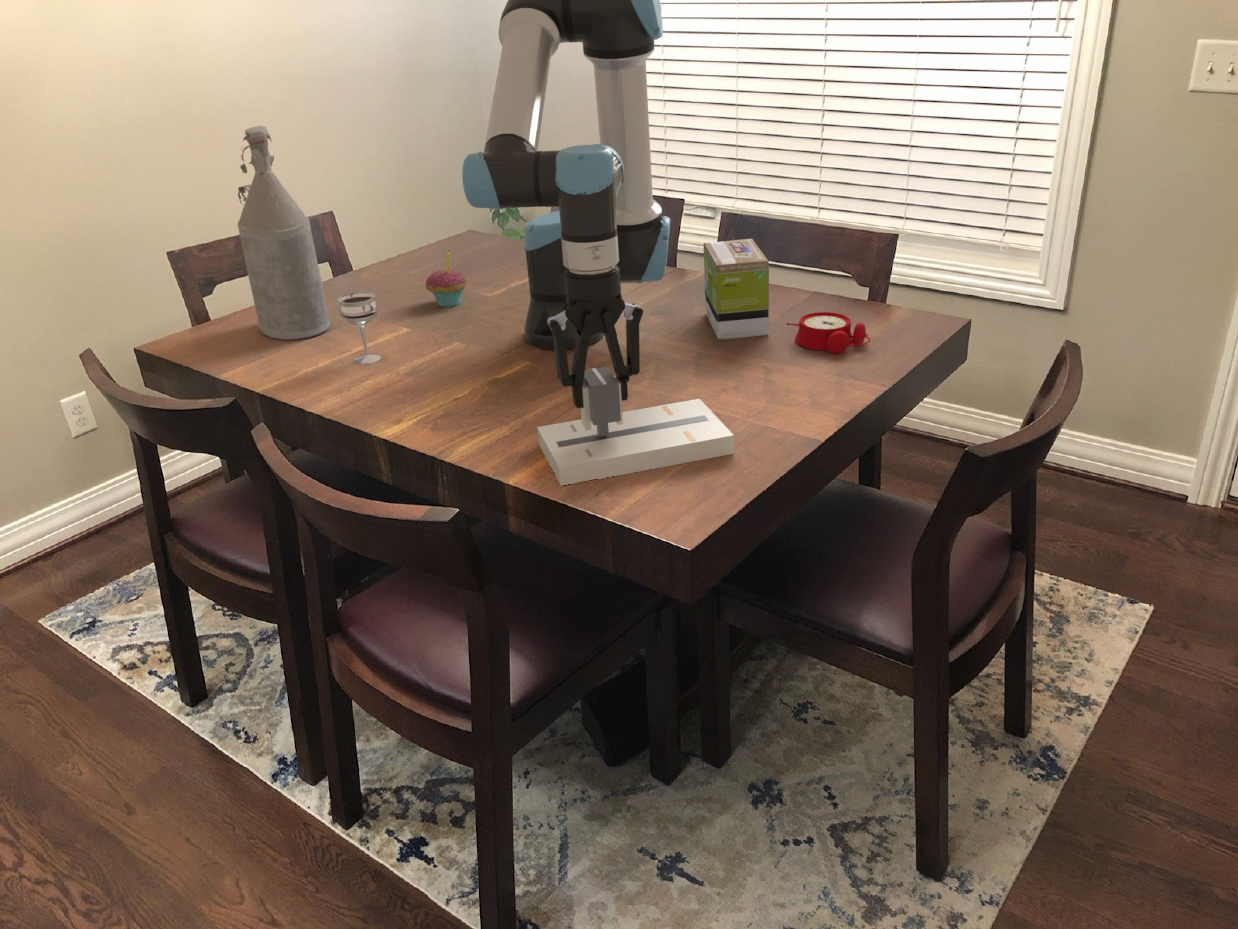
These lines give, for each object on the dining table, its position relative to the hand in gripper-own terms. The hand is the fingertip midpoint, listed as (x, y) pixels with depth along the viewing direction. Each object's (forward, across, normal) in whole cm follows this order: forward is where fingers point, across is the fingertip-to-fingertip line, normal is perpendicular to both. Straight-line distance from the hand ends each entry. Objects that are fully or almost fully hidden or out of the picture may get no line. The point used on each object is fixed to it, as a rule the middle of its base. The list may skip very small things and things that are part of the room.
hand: (602, 423), depth 148 cm
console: (+5, +5, 0) cm, 7 cm away
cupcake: (+5, -12, +81) cm, 82 cm away
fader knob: (+2, 0, 0) cm, 2 cm away
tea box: (+5, +38, +43) cm, 58 cm away
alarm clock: (+6, +50, +27) cm, 58 cm away
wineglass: (+5, -31, +55) cm, 63 cm away
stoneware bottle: (+5, -44, +79) cm, 90 cm away
